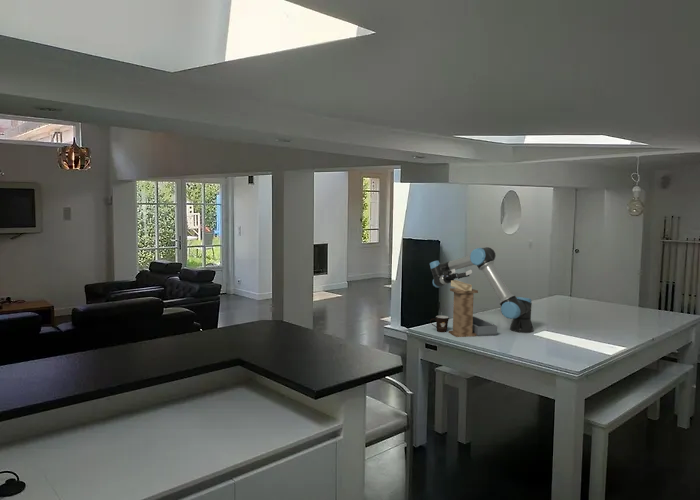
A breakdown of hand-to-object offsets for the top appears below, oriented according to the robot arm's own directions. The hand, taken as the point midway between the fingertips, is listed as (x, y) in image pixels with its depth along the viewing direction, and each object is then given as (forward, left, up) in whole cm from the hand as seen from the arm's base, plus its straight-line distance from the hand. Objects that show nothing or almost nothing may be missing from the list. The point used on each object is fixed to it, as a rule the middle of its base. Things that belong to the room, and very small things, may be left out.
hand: (463, 271), depth 370 cm
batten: (+10, +16, -9) cm, 21 cm away
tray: (-5, +10, -39) cm, 41 cm away
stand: (+10, +20, -39) cm, 45 cm away
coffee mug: (+21, +9, -40) cm, 45 cm away
